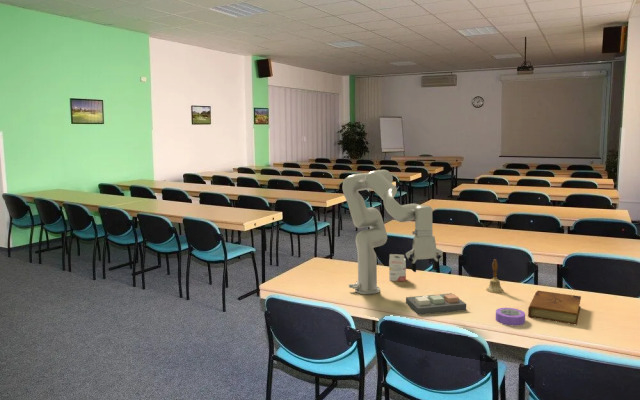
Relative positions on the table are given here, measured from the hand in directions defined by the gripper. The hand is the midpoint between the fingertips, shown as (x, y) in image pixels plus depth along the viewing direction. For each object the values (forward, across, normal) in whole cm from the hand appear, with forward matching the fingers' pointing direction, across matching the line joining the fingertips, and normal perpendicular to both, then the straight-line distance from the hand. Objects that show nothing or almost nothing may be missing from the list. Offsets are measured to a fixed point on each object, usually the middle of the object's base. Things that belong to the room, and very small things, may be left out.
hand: (424, 270), depth 224 cm
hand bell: (+18, +44, +17) cm, 50 cm away
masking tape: (+19, +30, -21) cm, 41 cm away
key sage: (+16, +6, 0) cm, 17 cm away
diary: (+20, +54, -16) cm, 60 cm away
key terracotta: (+16, +13, 0) cm, 20 cm away
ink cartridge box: (+17, +2, +45) cm, 48 cm away
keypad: (+18, +6, +1) cm, 19 cm away
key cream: (+16, -1, 0) cm, 16 cm away
